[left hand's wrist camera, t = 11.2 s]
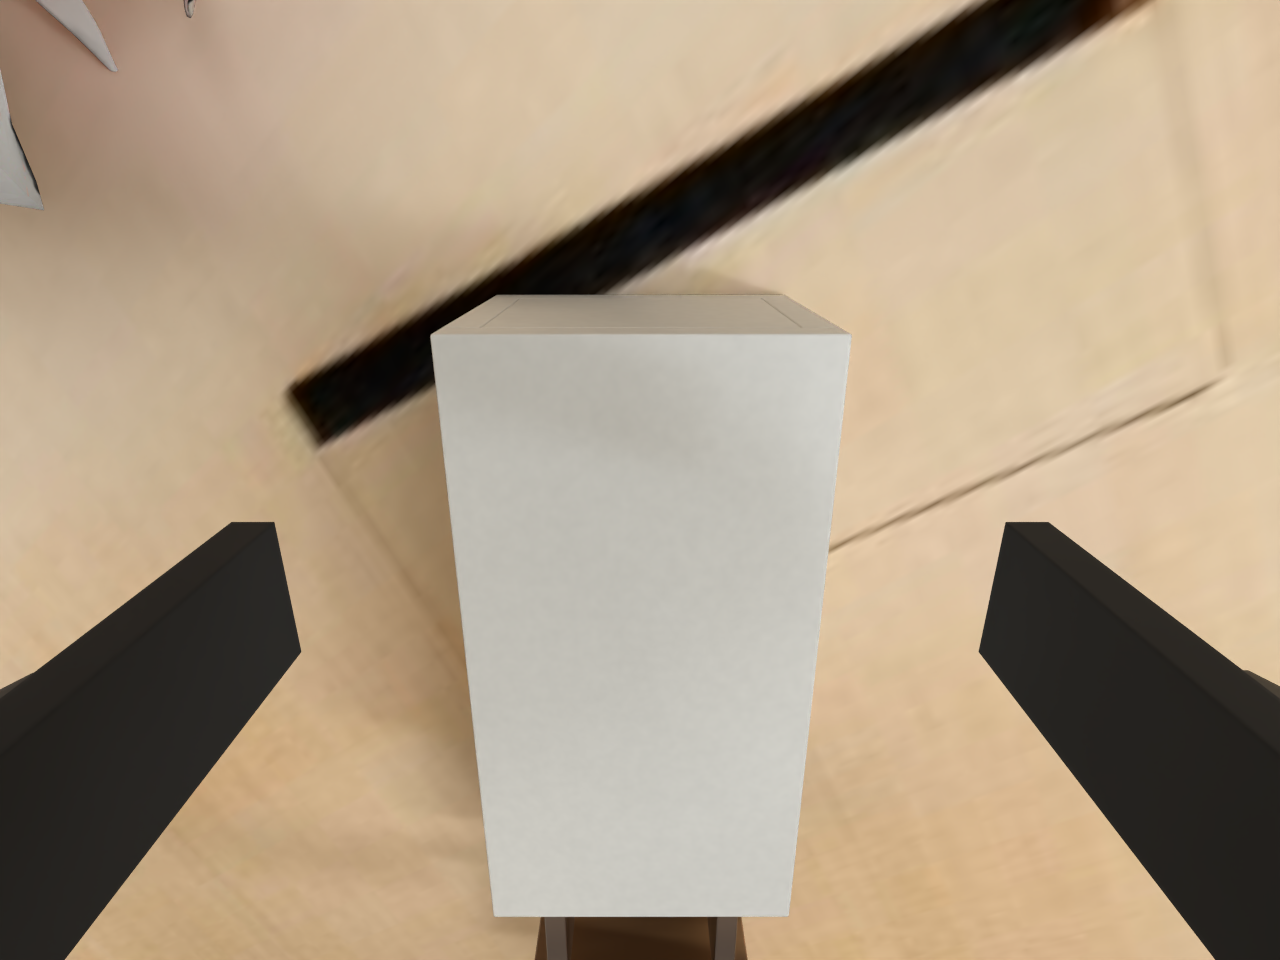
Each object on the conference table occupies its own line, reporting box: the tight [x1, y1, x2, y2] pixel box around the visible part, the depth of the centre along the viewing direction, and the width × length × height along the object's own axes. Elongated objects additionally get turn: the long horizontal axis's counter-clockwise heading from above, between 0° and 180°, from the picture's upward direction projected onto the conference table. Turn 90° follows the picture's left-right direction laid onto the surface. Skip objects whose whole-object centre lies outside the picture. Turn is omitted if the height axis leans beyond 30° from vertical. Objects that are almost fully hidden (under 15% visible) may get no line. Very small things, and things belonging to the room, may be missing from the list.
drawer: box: [535, 917, 747, 960], centre depth 29 cm, size 24×9×6 cm, turn 0°
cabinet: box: [430, 295, 852, 917], centre depth 25 cm, size 20×10×8 cm, turn 0°
